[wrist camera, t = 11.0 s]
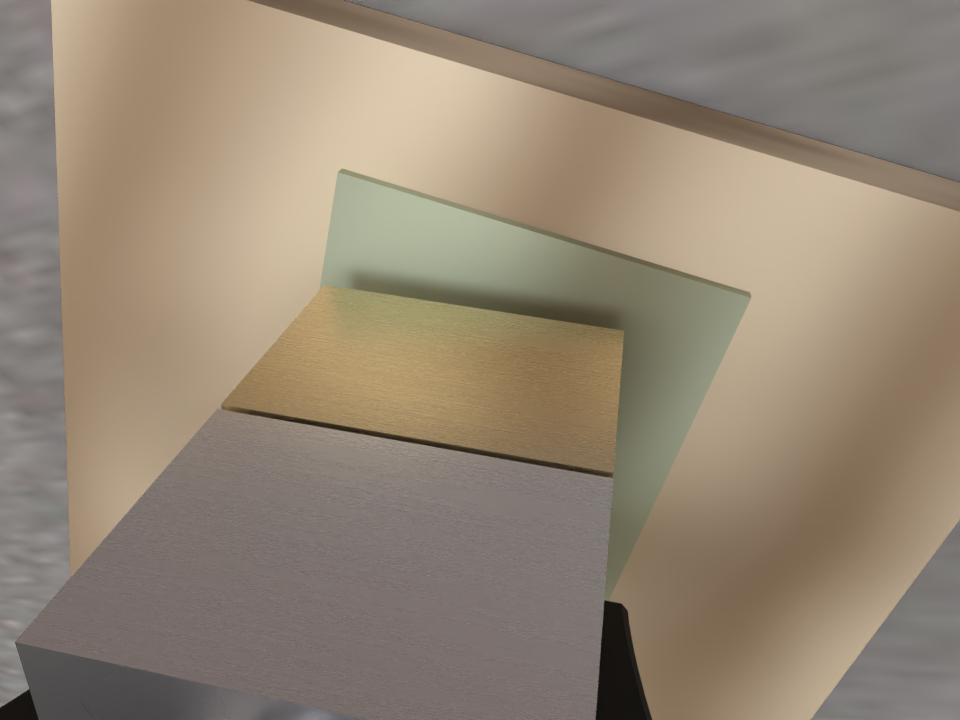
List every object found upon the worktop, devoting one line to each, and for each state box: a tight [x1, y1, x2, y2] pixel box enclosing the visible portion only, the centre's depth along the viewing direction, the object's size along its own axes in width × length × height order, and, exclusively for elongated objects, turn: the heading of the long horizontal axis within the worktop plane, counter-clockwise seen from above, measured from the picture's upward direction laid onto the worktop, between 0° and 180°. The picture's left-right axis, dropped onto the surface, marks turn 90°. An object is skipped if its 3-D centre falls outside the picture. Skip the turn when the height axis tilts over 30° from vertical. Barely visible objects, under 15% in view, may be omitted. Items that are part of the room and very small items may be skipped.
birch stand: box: [51, 0, 960, 720], centre depth 16 cm, size 16×14×2 cm
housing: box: [15, 285, 624, 720], centre depth 11 cm, size 8×4×7 cm, turn 175°
